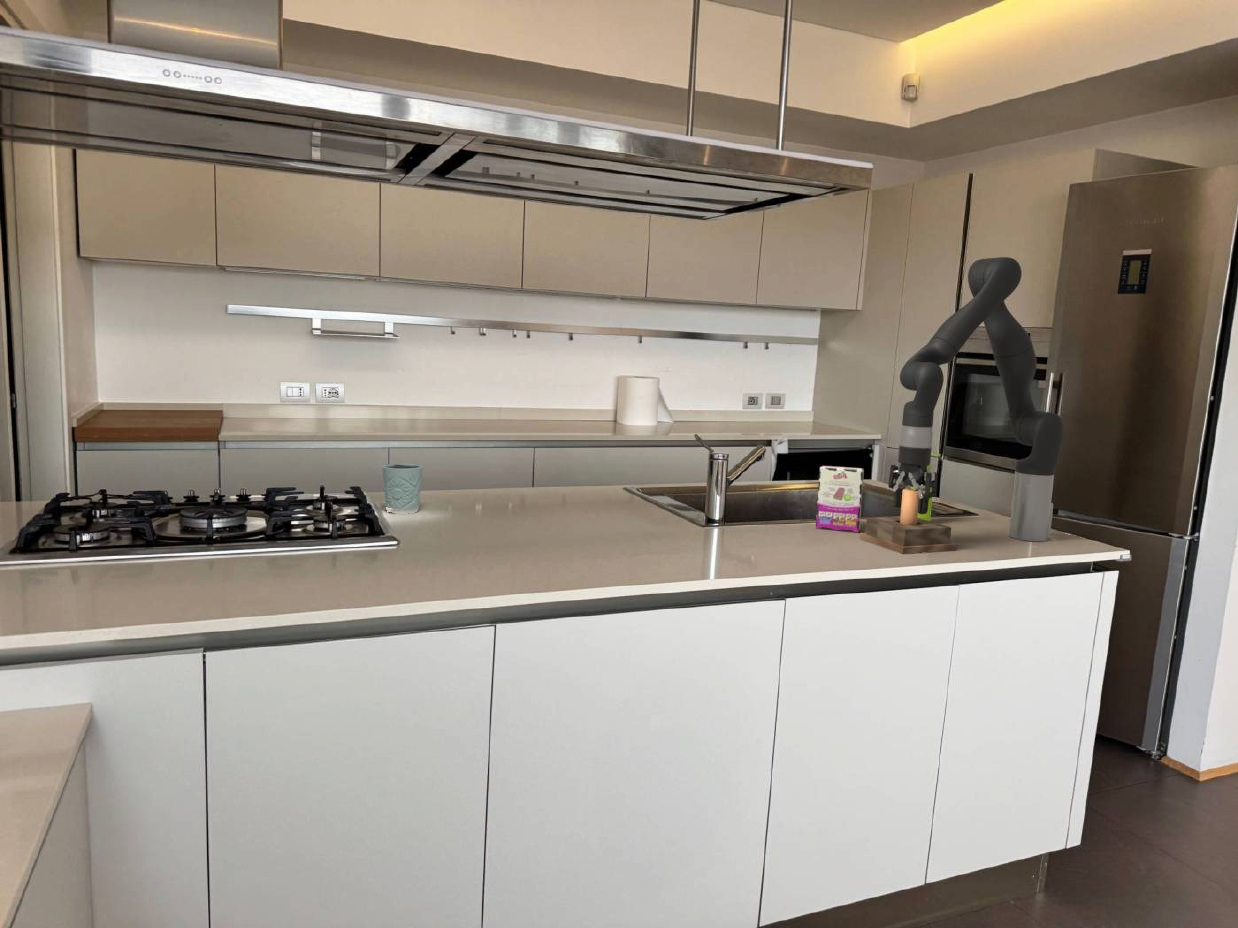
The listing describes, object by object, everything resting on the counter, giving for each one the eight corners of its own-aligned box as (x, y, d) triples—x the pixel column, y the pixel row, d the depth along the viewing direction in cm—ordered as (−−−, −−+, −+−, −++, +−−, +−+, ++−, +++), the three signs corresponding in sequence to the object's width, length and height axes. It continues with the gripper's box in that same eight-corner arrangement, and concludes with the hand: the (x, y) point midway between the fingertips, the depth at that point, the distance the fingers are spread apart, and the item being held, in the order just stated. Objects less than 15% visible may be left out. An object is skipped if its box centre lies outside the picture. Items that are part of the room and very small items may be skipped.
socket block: (909, 535, 228) (911, 514, 227) (955, 550, 213) (957, 528, 212) (859, 538, 221) (861, 517, 221) (902, 553, 207) (904, 531, 206)
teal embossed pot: (393, 516, 224) (394, 469, 222) (375, 509, 231) (375, 464, 230) (429, 512, 231) (429, 467, 229) (409, 506, 238) (410, 461, 237)
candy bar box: (860, 529, 233) (865, 468, 231) (858, 533, 228) (863, 470, 226) (816, 525, 237) (821, 464, 234) (814, 528, 232) (819, 466, 230)
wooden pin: (907, 536, 220) (912, 488, 218) (919, 540, 216) (923, 491, 214) (895, 537, 218) (899, 489, 216) (906, 540, 214) (910, 492, 213)
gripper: (948, 448, 209) (942, 515, 211) (907, 441, 222) (902, 504, 224) (923, 448, 206) (917, 516, 208) (883, 441, 219) (878, 505, 221)
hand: (909, 510), depth 216 cm, fingers open, 8 cm apart
